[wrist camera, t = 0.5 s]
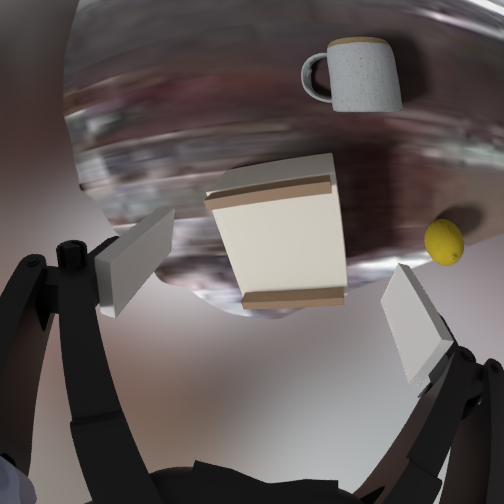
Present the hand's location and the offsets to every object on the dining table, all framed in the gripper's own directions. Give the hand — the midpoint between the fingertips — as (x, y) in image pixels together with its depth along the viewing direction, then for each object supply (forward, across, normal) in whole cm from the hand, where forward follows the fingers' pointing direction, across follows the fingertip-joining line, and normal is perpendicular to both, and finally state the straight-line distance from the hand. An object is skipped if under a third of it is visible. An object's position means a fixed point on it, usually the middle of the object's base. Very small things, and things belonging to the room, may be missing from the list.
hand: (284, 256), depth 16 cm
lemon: (+22, +22, 0) cm, 31 cm away
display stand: (+24, +1, -5) cm, 25 cm away
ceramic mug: (+21, +4, +14) cm, 26 cm away
